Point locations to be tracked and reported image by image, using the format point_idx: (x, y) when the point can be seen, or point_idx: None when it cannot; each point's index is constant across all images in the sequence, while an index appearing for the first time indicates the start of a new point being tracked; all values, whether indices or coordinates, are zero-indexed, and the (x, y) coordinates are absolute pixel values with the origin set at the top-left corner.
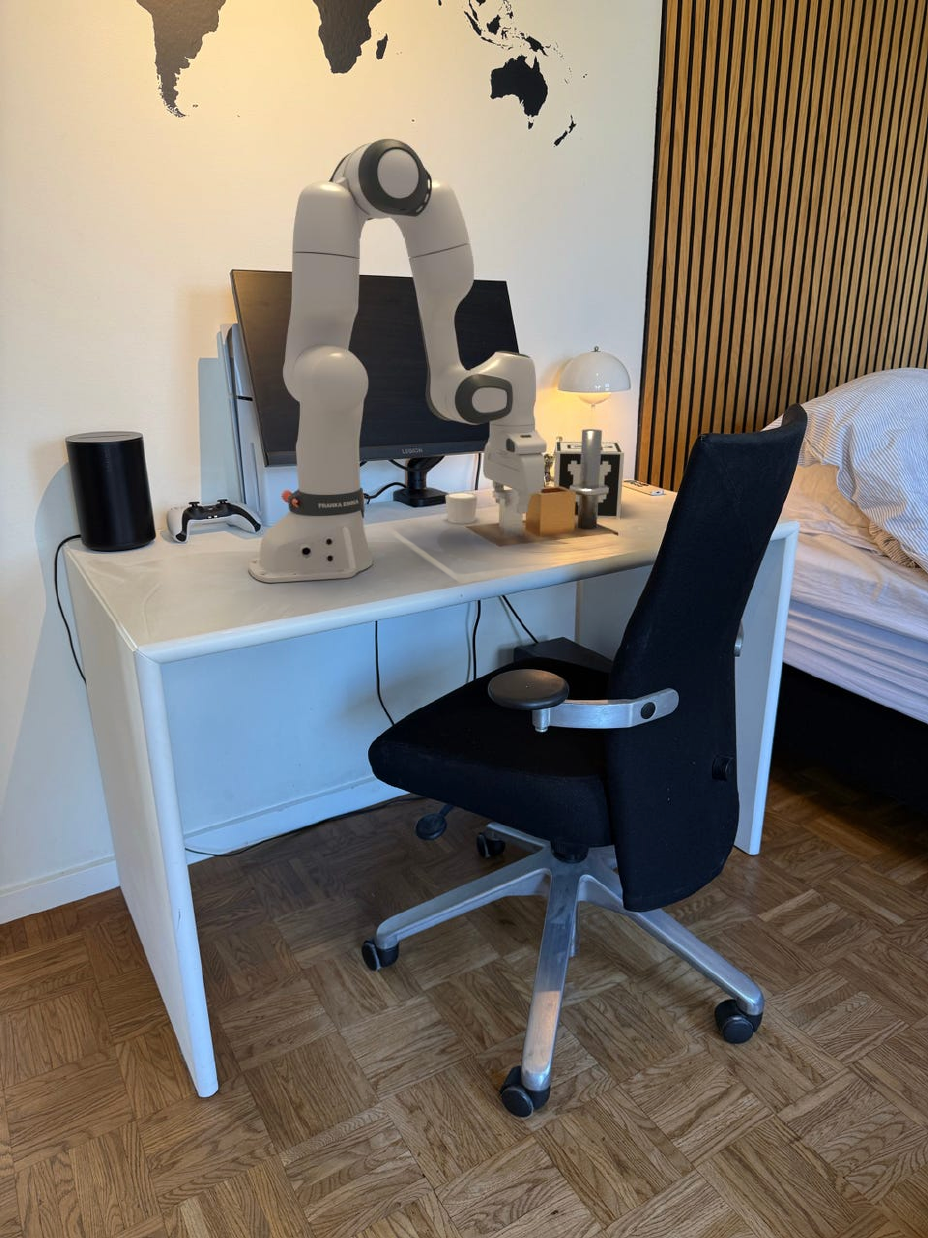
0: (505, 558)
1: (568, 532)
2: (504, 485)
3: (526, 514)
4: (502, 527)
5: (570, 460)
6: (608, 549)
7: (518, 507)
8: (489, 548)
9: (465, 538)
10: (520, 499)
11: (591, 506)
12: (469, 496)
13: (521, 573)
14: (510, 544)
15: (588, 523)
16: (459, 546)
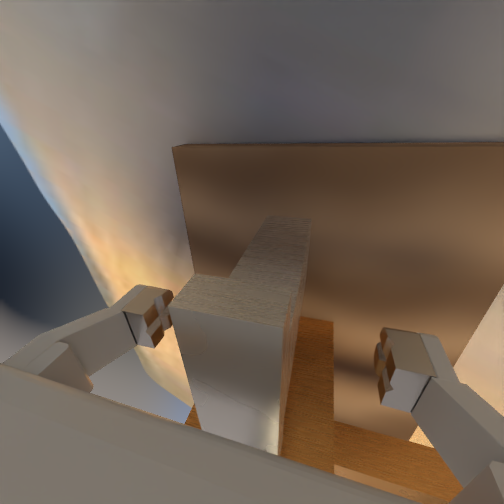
0: (137, 138)
1: None
2: (199, 429)
3: (326, 363)
4: (275, 231)
5: None
6: (172, 356)
7: (126, 300)
8: (256, 140)
9: (461, 103)
10: (62, 328)
11: None
12: None
13: (13, 115)
14: (185, 193)
15: None
16: (343, 6)
